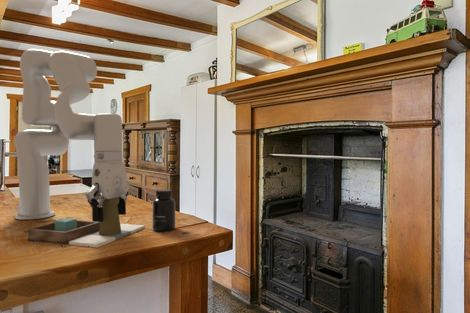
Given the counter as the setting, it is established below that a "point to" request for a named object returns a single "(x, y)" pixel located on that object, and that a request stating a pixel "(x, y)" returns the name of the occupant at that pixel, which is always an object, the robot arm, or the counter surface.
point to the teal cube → (65, 224)
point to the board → (105, 236)
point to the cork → (110, 218)
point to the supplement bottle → (163, 211)
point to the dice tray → (50, 235)
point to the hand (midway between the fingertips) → (109, 217)
